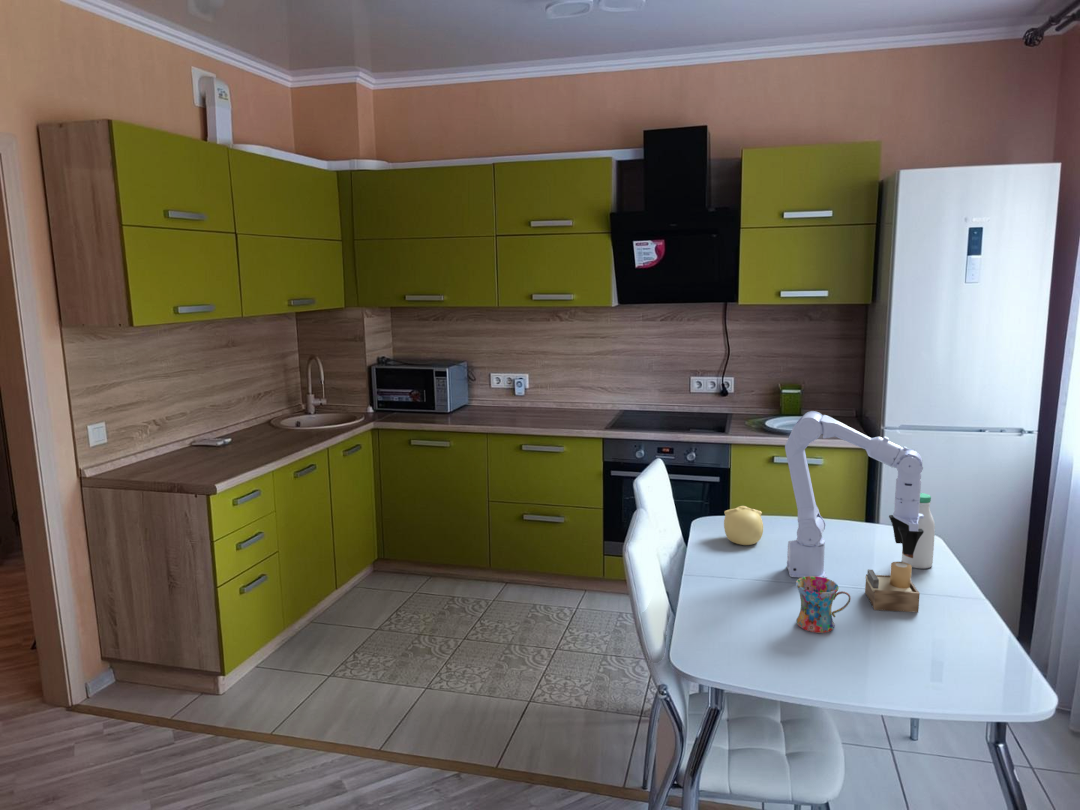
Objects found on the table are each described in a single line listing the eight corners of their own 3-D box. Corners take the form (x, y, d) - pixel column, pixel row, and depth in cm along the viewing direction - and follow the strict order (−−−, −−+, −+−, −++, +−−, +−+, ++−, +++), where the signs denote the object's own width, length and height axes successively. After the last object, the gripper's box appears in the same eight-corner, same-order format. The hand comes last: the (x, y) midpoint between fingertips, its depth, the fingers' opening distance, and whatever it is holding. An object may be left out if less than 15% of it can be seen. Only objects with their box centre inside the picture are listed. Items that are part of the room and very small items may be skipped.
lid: (873, 591, 187) (873, 581, 186) (865, 577, 195) (866, 567, 194) (912, 593, 185) (913, 583, 185) (903, 579, 193) (904, 569, 193)
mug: (795, 634, 176) (796, 590, 174) (793, 616, 185) (795, 574, 183) (851, 639, 173) (853, 595, 171) (846, 621, 182) (848, 578, 180)
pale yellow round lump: (759, 534, 239) (760, 501, 237) (765, 549, 227) (767, 514, 225) (721, 534, 240) (722, 501, 238) (726, 548, 228) (727, 513, 226)
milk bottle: (931, 560, 215) (936, 492, 211) (932, 571, 208) (938, 500, 204) (901, 557, 218) (906, 489, 215) (901, 567, 211) (906, 497, 208)
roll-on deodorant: (912, 589, 187) (913, 569, 186) (891, 587, 188) (893, 568, 187) (908, 581, 191) (909, 562, 190) (888, 580, 192) (889, 560, 191)
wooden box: (874, 609, 187) (875, 591, 186) (865, 592, 196) (866, 574, 195) (918, 612, 185) (919, 593, 184) (906, 594, 195) (908, 576, 194)
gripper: (933, 507, 187) (929, 559, 190) (916, 489, 201) (912, 538, 204) (902, 506, 188) (898, 558, 191) (887, 489, 202) (884, 537, 205)
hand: (904, 548), depth 197 cm, fingers open, 7 cm apart
